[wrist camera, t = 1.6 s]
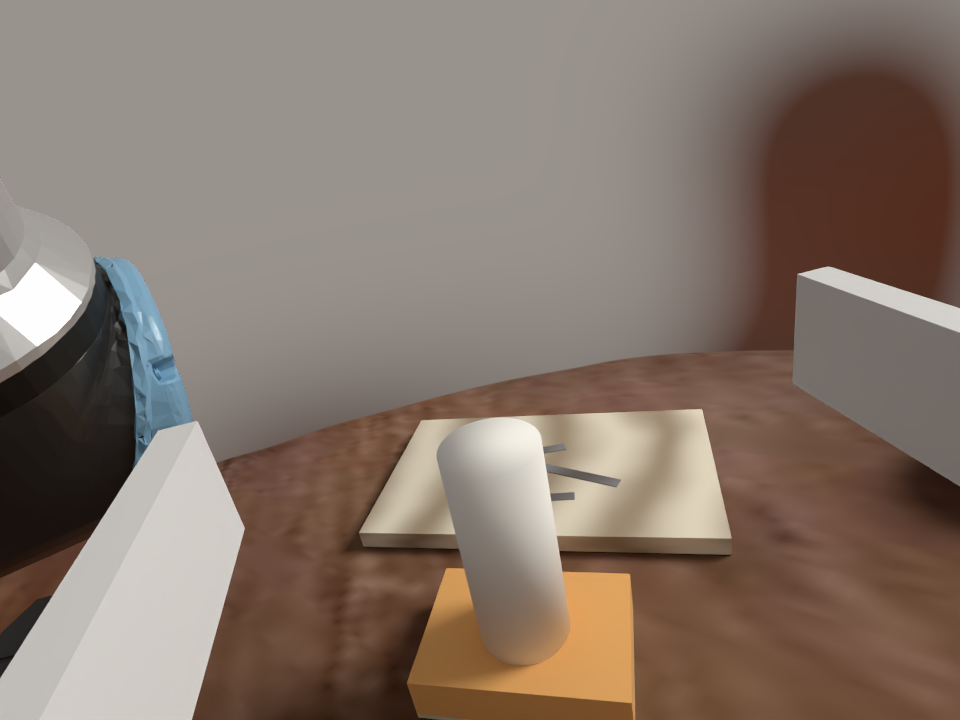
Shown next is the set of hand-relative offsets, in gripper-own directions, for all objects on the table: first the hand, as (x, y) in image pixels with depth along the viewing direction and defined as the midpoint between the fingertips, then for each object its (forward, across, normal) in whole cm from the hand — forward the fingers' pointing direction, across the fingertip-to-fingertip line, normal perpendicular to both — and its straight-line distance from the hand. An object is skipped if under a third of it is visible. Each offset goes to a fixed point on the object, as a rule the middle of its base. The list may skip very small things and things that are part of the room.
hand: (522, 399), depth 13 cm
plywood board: (+23, +5, -20) cm, 31 cm away
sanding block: (+10, 0, -20) cm, 22 cm away
